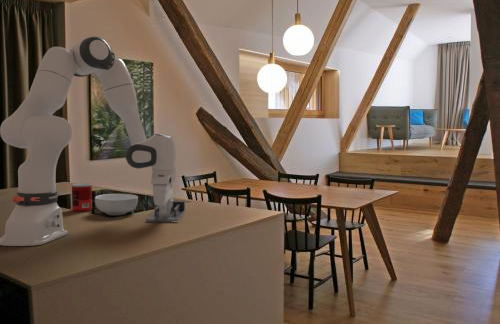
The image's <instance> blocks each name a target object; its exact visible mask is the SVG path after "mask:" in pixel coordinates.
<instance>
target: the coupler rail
mask: <svg viewBox="0 0 500 324" xmlns="http://www.w3.org/2000/svg"><path fill="white" fill-rule="evenodd" d="M154 205H155V204H154ZM184 211H185V212H186V200H173V214H172V215H171V216H159V206H156V205H155V207H154V211H153V212H151V214H150V215H148V217H147V218H146V219H145V223H171V222H170V221H179V222H180V220H181V219H180V217H181V216H182V214H183V213H184ZM184 214H185V213H184ZM184 214H183V215H184ZM182 217H183V216H182ZM182 217H181V218H182ZM179 219H180V220H179Z"/></svg>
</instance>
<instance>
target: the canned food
mask: <svg viewBox="0 0 500 324" xmlns="http://www.w3.org/2000/svg"><path fill="white" fill-rule="evenodd" d="M71 209H72V212H74V213H75V212H77V213H86V212H90V211H92V209H93V186H92V183H89V182H80V183H79V182H78V183H73V184H71Z"/></svg>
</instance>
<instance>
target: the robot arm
mask: <svg viewBox="0 0 500 324" xmlns="http://www.w3.org/2000/svg"><path fill="white" fill-rule="evenodd" d="M42 57H43V58H42V59H41V61H40V63H39V65H38V68H37V70H36V73H35V77H34V78H33V81H32V84H31V87H30V90H29V92H28V93H27V95H26V97H25V98H24V100H23V101H22V102H21V104H20V105H19V107H18V108H17V109H16V110H15V111H14V112H13V113H12V114H11V115H10V116H8V117H7V118H5V119H4V120H3V121H2V123H1V125H0V137H1V139H2V141H3V142H4V143H5V144H7V145H8V146H9V145H10V146H12V147H15V148H18V149H28V153H27V157H26V158H25V161H24V162H22V163H21V164H20V165H19V166H18V170H17V177H18V179H17V181H18V184H17V185H18V187H17V189H18V192H17V193H16V195H13V196H12V198H11V201H12V203H15V206H14V207H15V208H14V209H13V210H12V212H11V213H10V215H9V217H8V219H7V220H6V222H5V226H4V234H3V235H2V236H0V246H4V247H5V246H7V247H27V246H29V247H30V246H40V245H44V244H47V243H48V242H51V241H54V240H57V239H58V238H61V237H63V236H64V237H65V236H66V235H68V233H69V232H68V230H66V229H64V219H63V218H64V217H63V210H62V208H61V207H60V206H59V204H58V203H57V202H58V190H57V186H56V183H57V182H56V181H57V180H56V179H57V178H56V174H57V173H56V171H57V165H58V160H59V158H60V155H61V153H62V152H63V150H64V148H66V147H67V146H68V145H69V144H70V142H71V140H72V138H73V128H72V126H71V124H70V122H69V121H68V120H67V119H66V118H64V117H61V116H56V115H54V113H56V111H58V110H60V109H61V108H62V107H63V106H64V105H65V103H66V100H67V97H68V93H69V90H70V88H71V85H72V81H73V77H74V76H75V77H78V78H83V77H87V76H89V75H91V74H94V75H95V76H96V77H97V78H98V80H99V82H100V83H101V87H102V91H103V94H104V97H105V100H106V102H107V104H108V106H109V107H110V109H111V110H112V111H113V112H114V113H115V114H117V116H118V117H119V118H120V119H121V121H122V122H123V124H124V127H125V130H126V132H127V135H128V138H129V141H130V146H129V147H128V148H127V150H126V151H125V161H126V162H127V164H128V165H129V166H130V167H132V168H134V169H139V170H142V169H145V168H148V167H149V168H150V167H151V178H150V184H151V185H152V196H153V197H152V198H153V203H154V205H156V206H160V207H161V214H166V213H167V206H168V201H169V200H170V199H171V198H173V197H174V195H173V193H174V190H173V187H174V186H173V183H175V182H177V178H176V176H177V175H176V174H177V171H176V170H177V169H176V164H175V163H176V162H175V161H176V159H177V157H176V156H177V153H176V143H175V139H174V138H173V137H172V136H170V135H168V134H164V133H163V134H162V133H154V134H153V135H151V136H150V137H147V135H146V132H145V129H144V127H143V123H142V120H141V117H140V113H139V106H138V105H139V104H138V98H137V97H138V96H137V92H136V89H135V84H134V82H133V79H132V77H131V74H130V72H129V70H128V67H127V65H126V64H125V62H124V61H123V60H122V59H121V58H119V57H116V56H115V53H114V52H113V50H112V48H111V47H110V44H109V43H108V42H107V41H106V40H105V39H103V38H101V37H100V36H89V37H86V38H85V39H83V40H82V41H80V42H78V43H76V44H75V45H74V46H73V47H71V48H70V49H67V48H66V47H62V46H52V47H50V48H49V49H48V50H47V51H46V52H45V53H44V55H43V56H42Z"/></svg>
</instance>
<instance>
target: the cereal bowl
mask: <svg viewBox="0 0 500 324" xmlns="http://www.w3.org/2000/svg"><path fill="white" fill-rule="evenodd" d="M138 201H139V197H138V195H135V194H129V193H106V194H104V193H103V194H99V195H96V196H95V198H94V203H95V207H96V208H97V209H98V210H99V211H101V212H103V213H104V214H106V215H108V216H122V215H123V216H124V215H126V214H127V213H130V212H131V211H134V210H135V208H136V207H137V206H138Z"/></svg>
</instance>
